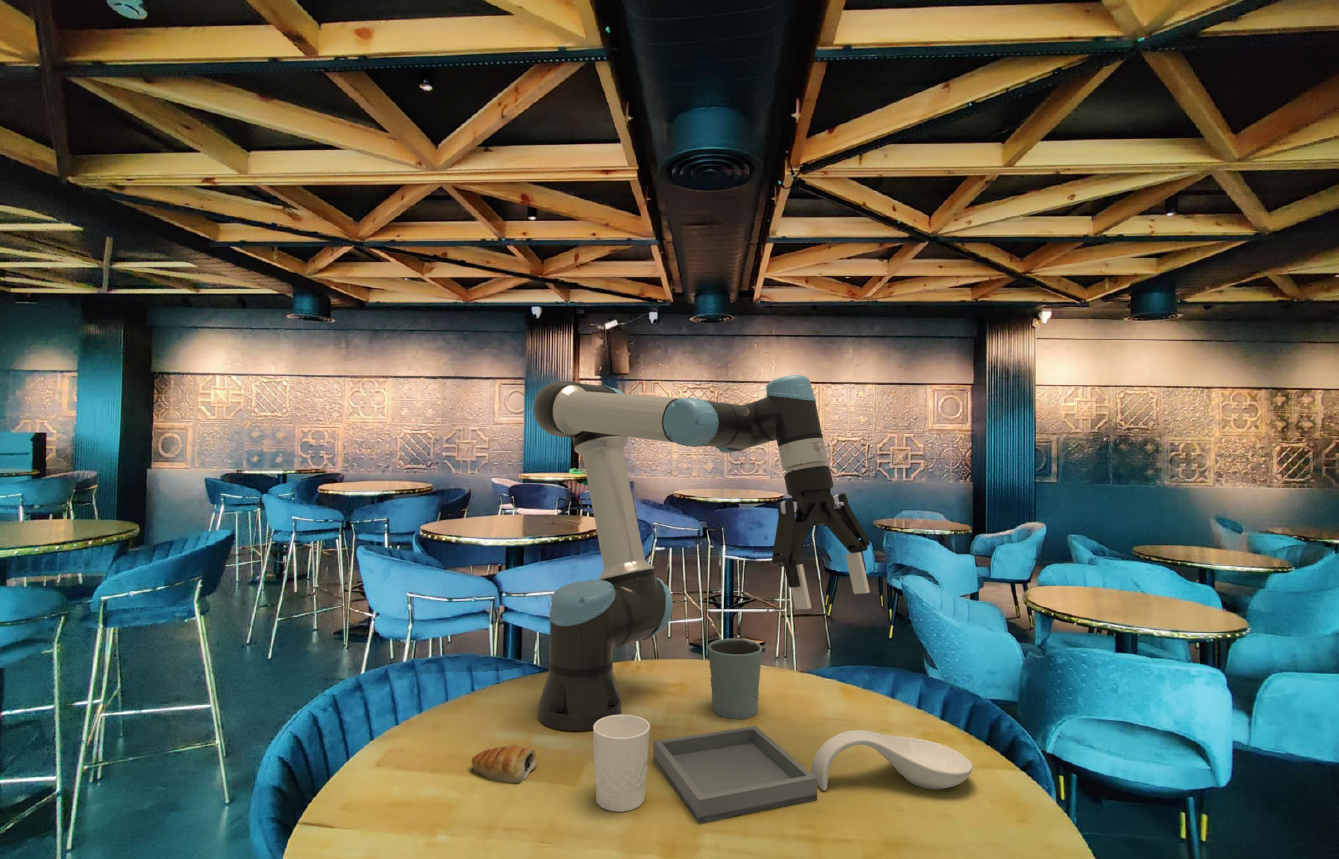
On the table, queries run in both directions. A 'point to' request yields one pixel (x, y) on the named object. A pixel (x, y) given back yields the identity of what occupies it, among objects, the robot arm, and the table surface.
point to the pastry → (505, 763)
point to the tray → (732, 773)
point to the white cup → (620, 761)
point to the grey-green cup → (735, 677)
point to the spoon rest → (899, 758)
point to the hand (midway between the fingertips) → (833, 601)
